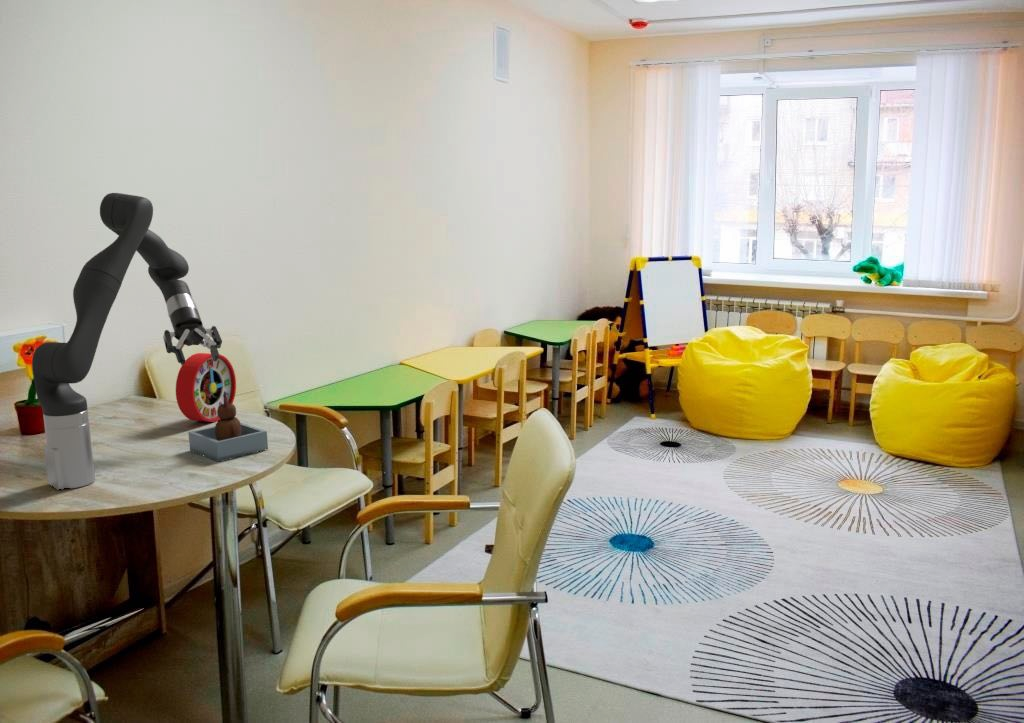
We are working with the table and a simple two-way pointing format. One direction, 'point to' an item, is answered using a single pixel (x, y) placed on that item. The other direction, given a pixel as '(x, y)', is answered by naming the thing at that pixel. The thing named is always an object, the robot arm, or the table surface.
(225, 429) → the wooden figurine
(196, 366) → the toy clock
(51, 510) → the table surface
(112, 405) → the table surface
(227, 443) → the box
